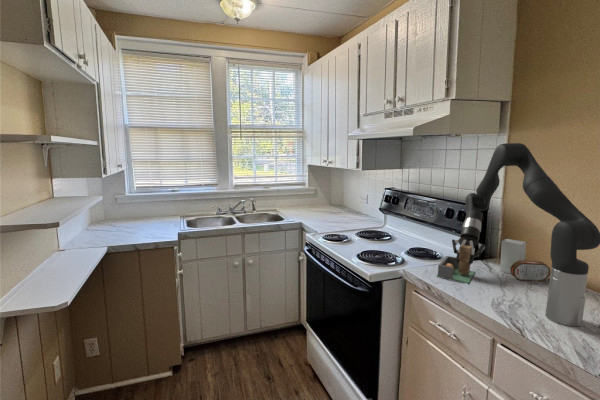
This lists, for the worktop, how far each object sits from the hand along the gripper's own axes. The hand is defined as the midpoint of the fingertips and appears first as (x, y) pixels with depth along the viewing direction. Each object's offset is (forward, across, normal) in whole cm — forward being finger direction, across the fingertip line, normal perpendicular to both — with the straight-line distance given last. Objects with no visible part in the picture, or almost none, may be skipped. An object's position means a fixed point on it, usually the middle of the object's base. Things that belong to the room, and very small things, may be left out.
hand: (464, 262), depth 145 cm
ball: (+2, -6, +4) cm, 8 cm away
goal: (+4, -3, +6) cm, 8 cm away
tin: (-5, +24, +15) cm, 28 cm away
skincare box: (-9, +17, +19) cm, 27 cm away
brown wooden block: (+2, 0, +5) cm, 6 cm away
